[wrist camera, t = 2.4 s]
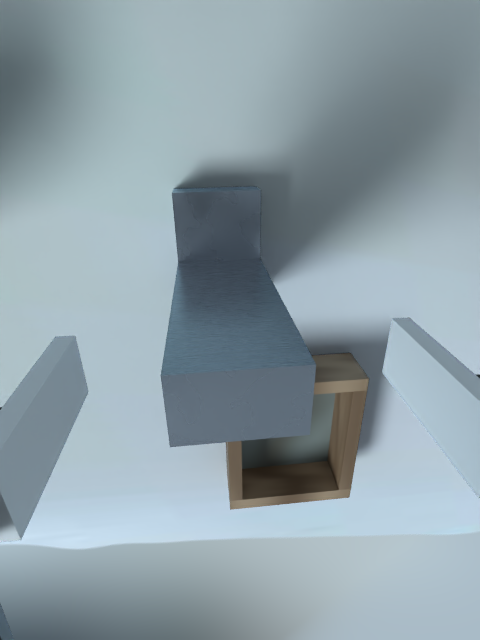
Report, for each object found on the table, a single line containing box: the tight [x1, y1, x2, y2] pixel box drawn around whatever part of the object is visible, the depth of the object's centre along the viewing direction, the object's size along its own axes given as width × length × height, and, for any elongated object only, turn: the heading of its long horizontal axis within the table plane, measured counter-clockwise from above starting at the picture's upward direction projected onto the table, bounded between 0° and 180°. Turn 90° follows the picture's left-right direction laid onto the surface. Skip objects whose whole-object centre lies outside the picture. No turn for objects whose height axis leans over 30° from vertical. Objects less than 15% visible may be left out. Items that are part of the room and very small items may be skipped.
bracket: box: [161, 186, 316, 447], centre depth 18 cm, size 7×5×14 cm
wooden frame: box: [226, 353, 369, 510], centre depth 30 cm, size 10×12×4 cm
